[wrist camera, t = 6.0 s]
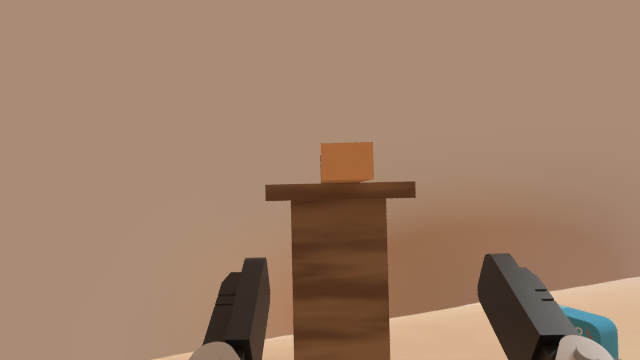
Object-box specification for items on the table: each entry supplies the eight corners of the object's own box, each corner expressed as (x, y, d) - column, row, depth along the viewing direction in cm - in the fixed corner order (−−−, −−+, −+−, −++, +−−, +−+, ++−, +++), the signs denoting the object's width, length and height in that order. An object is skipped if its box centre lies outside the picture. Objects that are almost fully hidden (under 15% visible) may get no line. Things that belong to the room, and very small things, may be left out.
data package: (522, 376, 63) (520, 302, 63) (540, 369, 65) (537, 298, 65) (602, 414, 52) (599, 325, 52) (621, 405, 54) (617, 319, 54)
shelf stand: (424, 530, 35) (415, 181, 36) (271, 534, 35) (265, 184, 36) (392, 423, 51) (385, 183, 52) (287, 425, 51) (282, 186, 52)
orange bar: (374, 180, 26) (373, 141, 26) (321, 181, 26) (320, 142, 26) (348, 184, 50) (348, 164, 50) (320, 185, 50) (320, 165, 50)
